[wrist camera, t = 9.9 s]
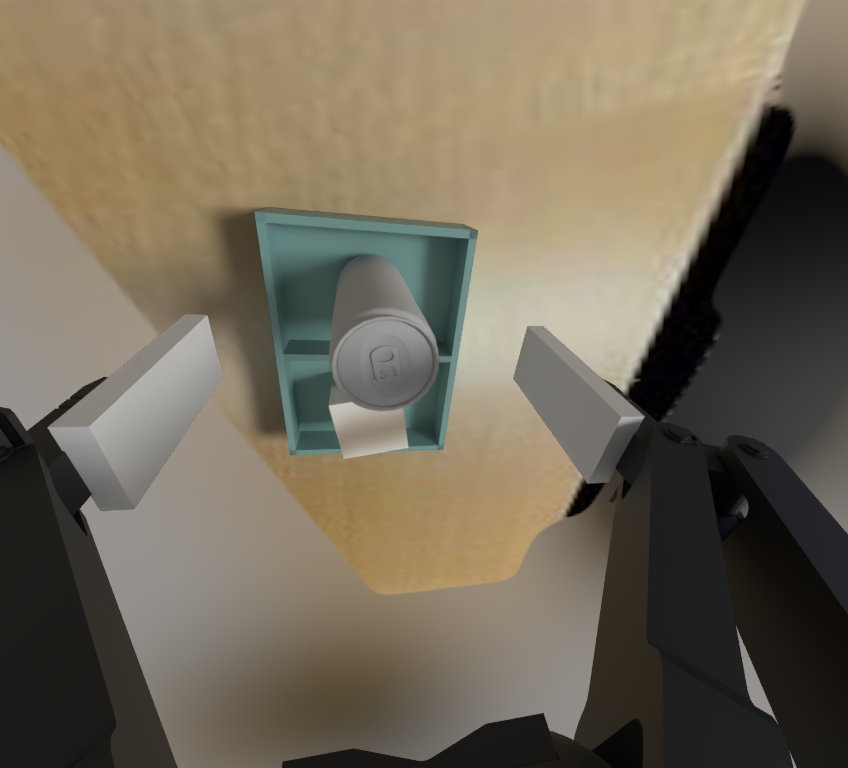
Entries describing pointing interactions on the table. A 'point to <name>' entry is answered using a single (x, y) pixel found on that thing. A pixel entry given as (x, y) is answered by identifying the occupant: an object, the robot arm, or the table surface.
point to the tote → (315, 299)
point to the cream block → (365, 427)
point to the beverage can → (380, 338)
